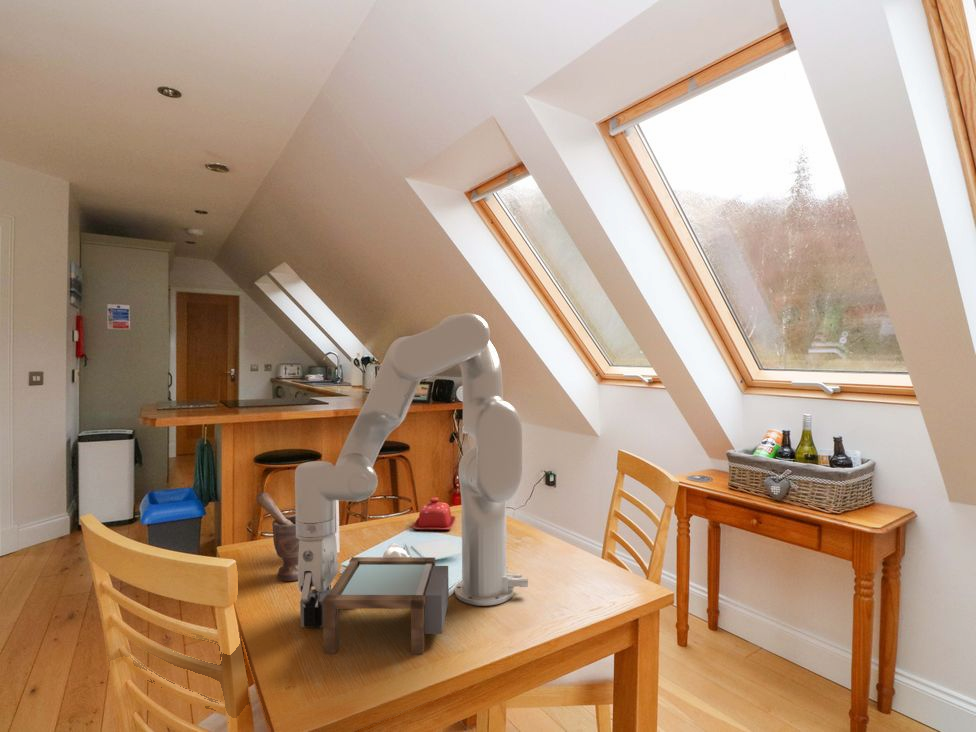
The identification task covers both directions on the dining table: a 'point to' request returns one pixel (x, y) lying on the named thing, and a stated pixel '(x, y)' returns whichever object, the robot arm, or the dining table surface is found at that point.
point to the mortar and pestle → (283, 538)
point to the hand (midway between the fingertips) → (318, 617)
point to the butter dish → (435, 516)
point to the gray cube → (322, 596)
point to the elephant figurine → (395, 551)
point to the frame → (373, 602)
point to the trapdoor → (406, 587)
